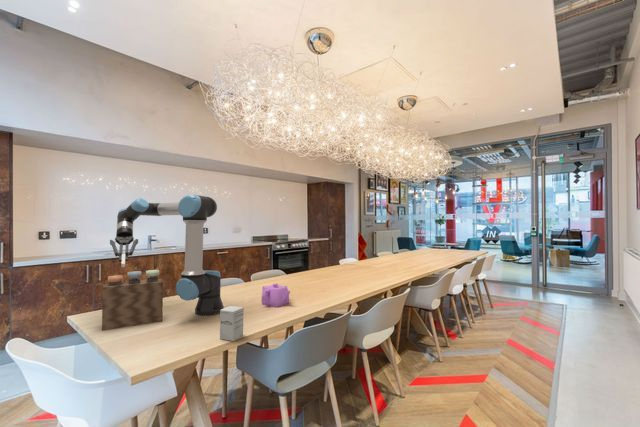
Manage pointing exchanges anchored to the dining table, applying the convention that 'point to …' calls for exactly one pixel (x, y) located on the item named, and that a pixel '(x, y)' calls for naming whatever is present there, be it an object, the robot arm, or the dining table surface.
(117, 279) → the terracotta button
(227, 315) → the supplement box
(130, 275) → the slate button
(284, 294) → the teakettle
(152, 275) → the sage button
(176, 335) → the dining table surface
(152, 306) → the button console
